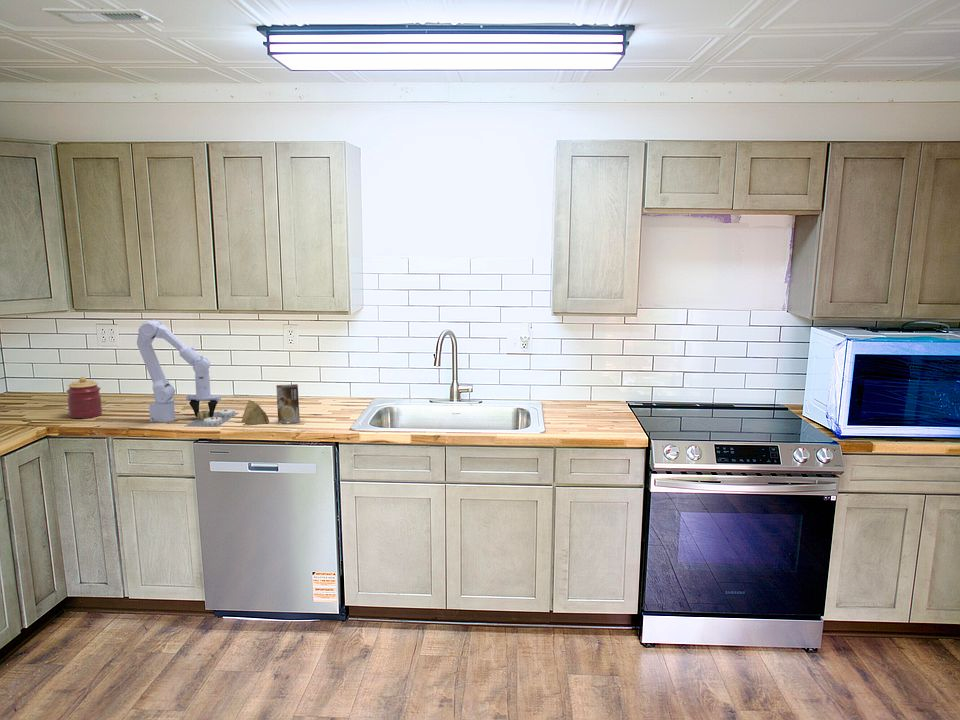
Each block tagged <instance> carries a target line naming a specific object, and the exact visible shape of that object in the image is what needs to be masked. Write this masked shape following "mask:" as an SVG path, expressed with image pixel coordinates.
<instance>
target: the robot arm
mask: <svg viewBox="0 0 960 720" xmlns="http://www.w3.org/2000/svg"><path fill="white" fill-rule="evenodd" d="M137 332H138V333H137V340H136V346H137V348H138V350H139V353H140V355H141V357H142V360H143V362H144V364H145V367H146V370H147V372H148V374H149V377H150V379H151V381H152V390H153V391H152V392H153V399H154V400H155V401H152V402H151V403H150V404H149V407H148V409H149V410H148V411H149V423H152V422H157V423H158V422H159V423H165V422H166V423H167V422H172V421H175V420H176V413H175V412H176V411H175V399H174V396H175V395H176V389H175V387H174V386H173V385H171V383H170V381H169V380H168V379H167V378H166V376H165V373H164V371H163V369H162V366H161V365H160V361H159V359H158V357H157V355H156V352H155V349H154V347H153V345H152V344H153V342H154V340H155V339H156V338H157V339H163V340H165V341H166V342H167V343H169V345H171V346H172V347H173V348H175V349H176V350H177V351H178V352H179V357H181V358H182V359H183V360H184V361H185V362H186V363H188V364H189V365H190V366H191V367H192V370H193V371H194V378H195V379H194V380H195V381H194V382H195V395H194V394H193V395H186V396H185V400H186V402H189V405H190V407H191V408H192V411H193V414H194V415H195V418H198V415H197V412H198V411H200V402H201V401H202V402H205V401H206V402H207V405H208V411H209V415H210V418H211V417H213V415H214V412H215V409H216V407H217V405H218V403H219V402H221V401H222V396H220V395H213V394H212V395H211V384H210V383H211V381H210V370H209V369H210V367H211V363H210V361H209V359H208V358H207V357H204V356H203V355H202V354H200V353H199V352H197V351H196V348H195V347H194V346H191V345H186V344H184V343H183V342H182V341H181V339H179V338H178V337H177V336H176V335H175V334H174V333H173V332H172V331H171V330H170V329H169V328H168V327H167V325H165V324H164V323H163V324H162V322H161V321H160V320H158V319H151V320H149V321H144V322H143V323H141V325H140V327H139V328H138V330H137Z"/></svg>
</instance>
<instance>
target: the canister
mask: <svg viewBox="0 0 960 720" xmlns="http://www.w3.org/2000/svg"><path fill="white" fill-rule="evenodd" d="M78 379H79V380H76V381H72V382H71V383H70V384H68V385H67V386H68V389H67V390H66V393H67V398H66V399H67V406H68V412H67V413H68V417H69V418H70V417H71V418H70V419H73V418H85V419H91V418H90V417H92V418H96V416H97V417H99V415H100V416H101V415H102V414H103V407H102V395H101V393H100V391H101V387H100V386H98V385H99V383H98V382H96V381H94V380H92V379H87V378H86V377H85V376H80V377H79V378H78Z"/></svg>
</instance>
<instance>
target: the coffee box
mask: <svg viewBox="0 0 960 720" xmlns="http://www.w3.org/2000/svg"><path fill="white" fill-rule="evenodd" d="M275 387H276V403H277V405H276V406H277V421H278V422H277V424H278V423H286V424H288V423H287V422H301V420H300V403H299V402H300V401H299V385H298V384H295V383H294V384H276V386H275Z"/></svg>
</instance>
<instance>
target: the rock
mask: <svg viewBox="0 0 960 720" xmlns="http://www.w3.org/2000/svg"><path fill="white" fill-rule="evenodd" d="M243 412H244V413H243V415H242V417H241V419H242V420H241V423H242V426H246V425H247V426H253V425H262V424H268V423H270V420H269V416H268V415H267V413H266V412H265V411H264V409H262V408H261V406H260V405H259V404H257V402H255V401H253V400H248V402H247V404H246V406H245V408H244V411H243ZM252 424H253V425H252Z"/></svg>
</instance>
